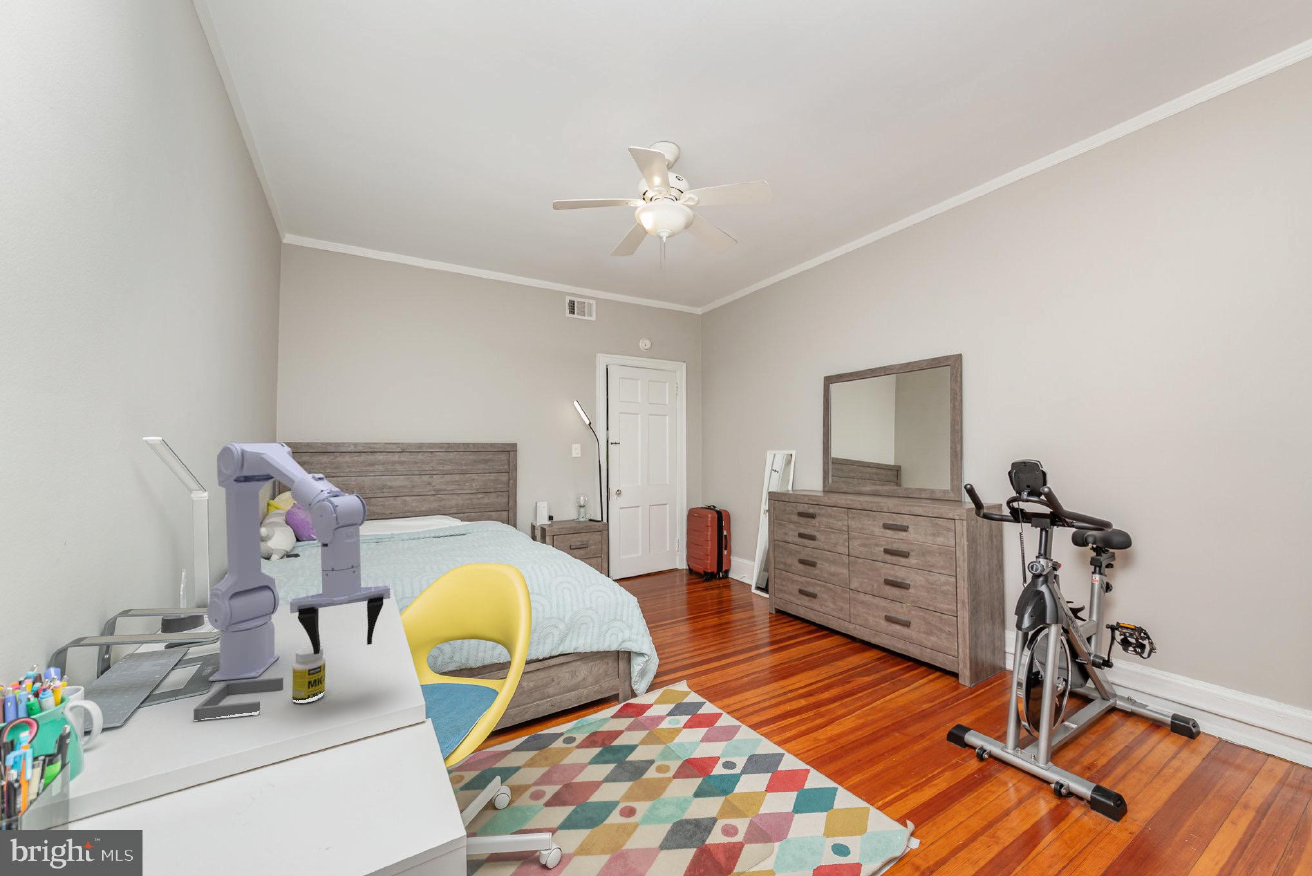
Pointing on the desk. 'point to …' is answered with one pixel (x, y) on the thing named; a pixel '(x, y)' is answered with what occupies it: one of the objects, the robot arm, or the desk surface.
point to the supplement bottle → (308, 674)
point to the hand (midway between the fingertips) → (343, 647)
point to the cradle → (239, 687)
